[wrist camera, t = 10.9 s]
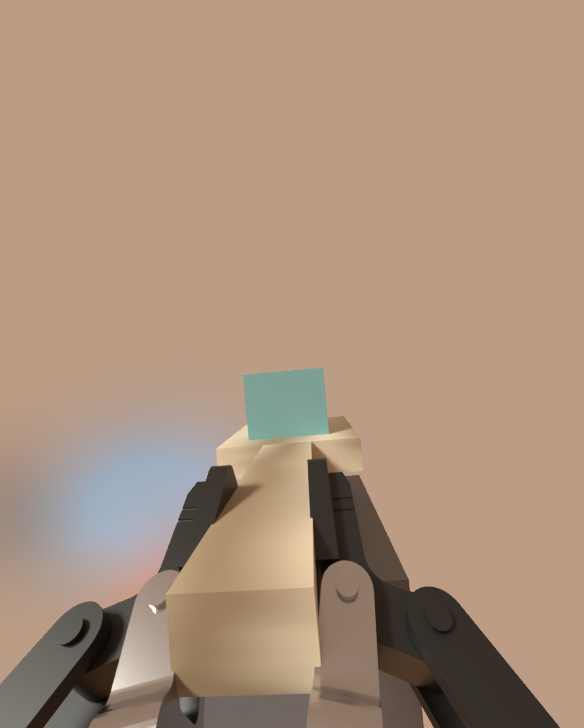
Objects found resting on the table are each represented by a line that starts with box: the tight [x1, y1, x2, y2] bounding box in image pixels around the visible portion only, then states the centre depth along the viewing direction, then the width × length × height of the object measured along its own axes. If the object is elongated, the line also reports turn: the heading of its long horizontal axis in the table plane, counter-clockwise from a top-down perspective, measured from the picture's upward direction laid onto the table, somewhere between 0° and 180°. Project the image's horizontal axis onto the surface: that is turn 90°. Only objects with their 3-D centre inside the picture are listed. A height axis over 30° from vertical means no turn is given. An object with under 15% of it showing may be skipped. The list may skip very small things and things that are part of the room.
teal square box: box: [243, 368, 329, 440], centre depth 23 cm, size 6×6×4 cm
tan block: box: [165, 416, 363, 697], centre depth 17 cm, size 9×22×2 cm, turn 177°
